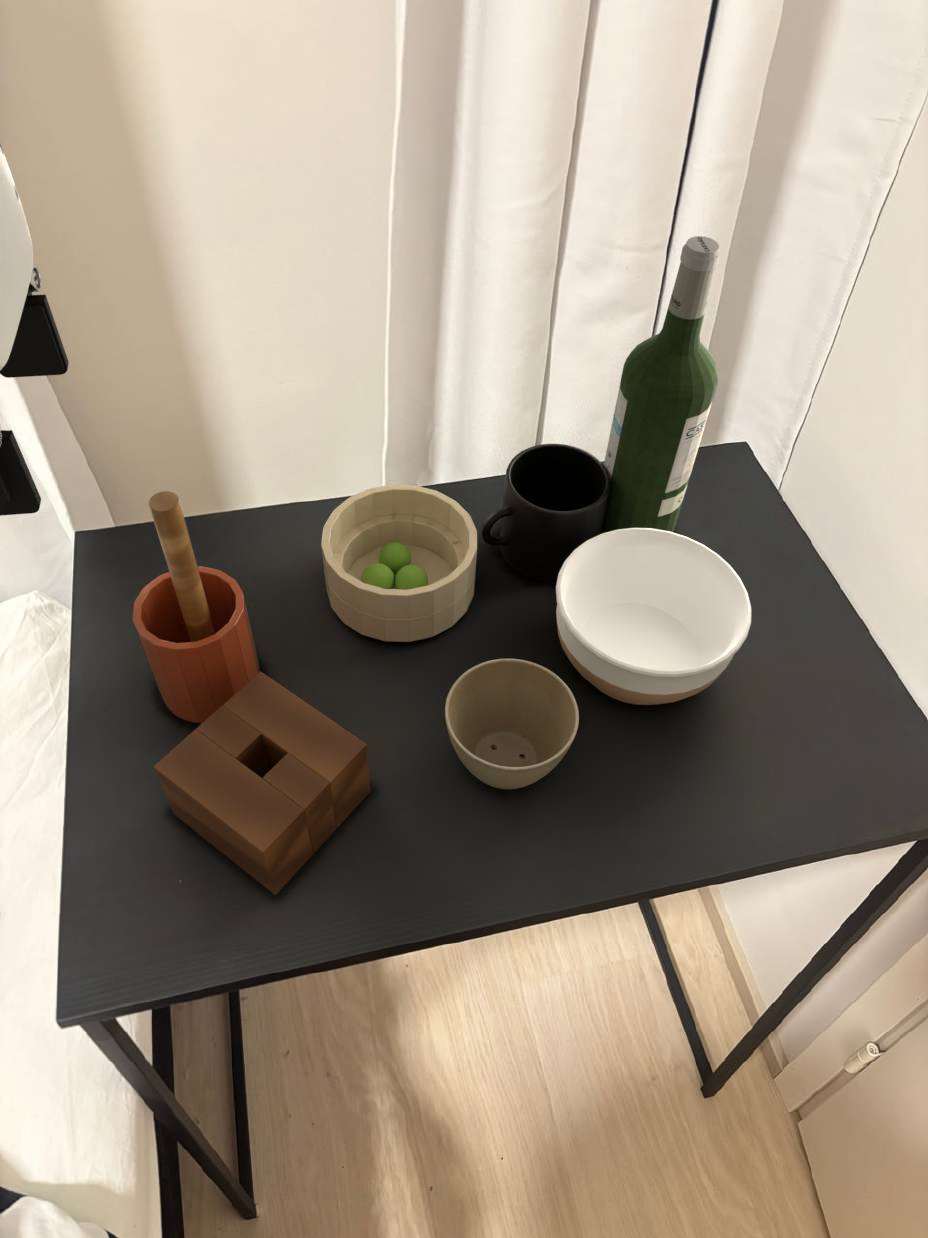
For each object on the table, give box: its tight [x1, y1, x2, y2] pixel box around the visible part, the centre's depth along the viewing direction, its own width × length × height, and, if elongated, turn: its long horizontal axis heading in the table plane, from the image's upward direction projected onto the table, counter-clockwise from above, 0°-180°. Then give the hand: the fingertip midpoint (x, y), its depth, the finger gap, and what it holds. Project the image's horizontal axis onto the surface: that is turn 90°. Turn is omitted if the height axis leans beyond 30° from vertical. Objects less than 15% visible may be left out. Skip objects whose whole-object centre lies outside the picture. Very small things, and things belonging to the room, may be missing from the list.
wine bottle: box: [601, 235, 721, 534], centre depth 80 cm, size 8×8×30 cm
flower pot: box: [444, 658, 580, 790], centre depth 71 cm, size 10×10×7 cm
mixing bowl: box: [320, 484, 478, 643], centre depth 83 cm, size 13×13×7 cm
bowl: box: [555, 528, 752, 706], centre depth 79 cm, size 16×16×8 cm
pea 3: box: [395, 565, 428, 590], centre depth 83 cm, size 3×3×3 cm
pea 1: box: [361, 563, 395, 589], centre depth 83 cm, size 3×3×3 cm
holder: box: [153, 671, 371, 896], centre depth 68 cm, size 11×11×7 cm
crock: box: [132, 565, 261, 724], centre depth 74 cm, size 8×8×10 cm
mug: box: [481, 443, 610, 582], centre depth 86 cm, size 9×12×9 cm
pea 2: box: [379, 542, 412, 575], centre depth 85 cm, size 3×3×3 cm
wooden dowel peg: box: [148, 490, 216, 642], centre depth 70 cm, size 2×2×20 cm
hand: (20, 436), depth 42 cm, fingers open, 9 cm apart
